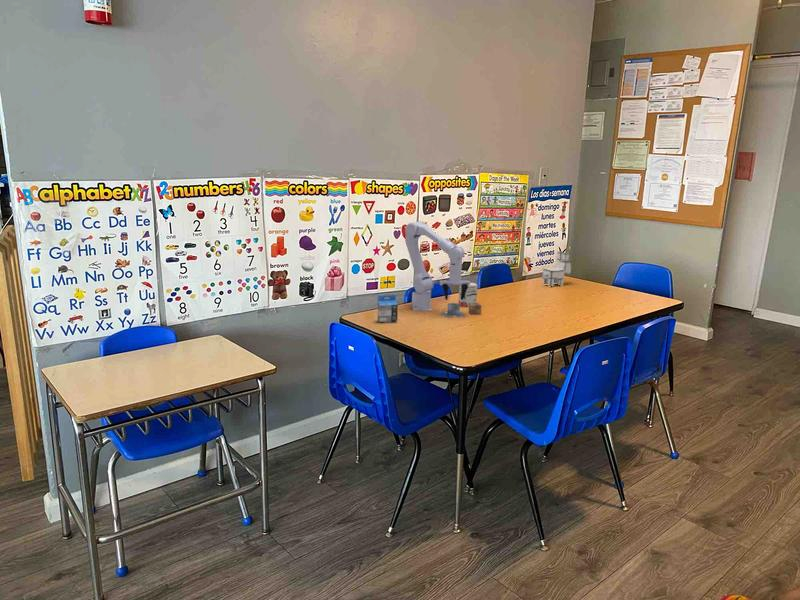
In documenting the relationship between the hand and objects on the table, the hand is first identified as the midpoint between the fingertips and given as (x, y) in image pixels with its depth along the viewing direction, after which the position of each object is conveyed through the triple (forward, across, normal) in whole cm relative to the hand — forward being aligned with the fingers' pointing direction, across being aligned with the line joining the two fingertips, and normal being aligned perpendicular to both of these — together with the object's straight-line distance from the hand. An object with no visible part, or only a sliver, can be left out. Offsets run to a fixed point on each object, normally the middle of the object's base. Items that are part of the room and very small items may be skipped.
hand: (454, 299), depth 291 cm
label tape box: (+8, -33, -11) cm, 36 cm away
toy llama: (+8, +75, +65) cm, 99 cm away
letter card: (+8, 0, 0) cm, 8 cm away
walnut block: (+8, +11, +2) cm, 14 cm away
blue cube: (+8, 0, 0) cm, 8 cm away
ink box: (+8, +11, +17) cm, 21 cm away
